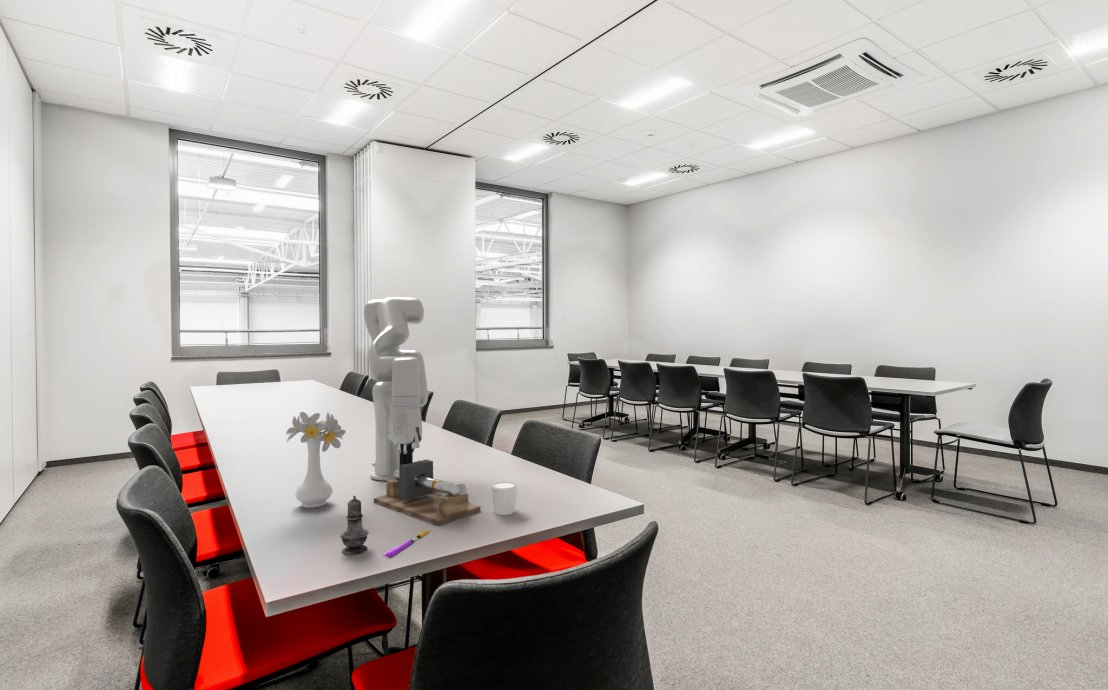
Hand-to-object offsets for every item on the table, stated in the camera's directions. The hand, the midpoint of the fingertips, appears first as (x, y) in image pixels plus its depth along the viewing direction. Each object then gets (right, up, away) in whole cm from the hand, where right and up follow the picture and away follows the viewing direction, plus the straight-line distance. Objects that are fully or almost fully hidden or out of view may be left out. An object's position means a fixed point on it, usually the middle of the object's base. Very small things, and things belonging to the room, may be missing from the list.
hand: (406, 466), depth 153 cm
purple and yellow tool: (+8, -11, -30) cm, 33 cm away
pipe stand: (+7, -10, -5) cm, 13 cm away
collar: (+4, -7, -3) cm, 9 cm away
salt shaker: (-2, -11, -34) cm, 36 cm away
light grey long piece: (+9, -10, +4) cm, 14 cm away
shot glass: (+28, -10, -9) cm, 31 cm away
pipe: (+7, -4, -5) cm, 10 cm away
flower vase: (-23, -10, -4) cm, 26 cm away
